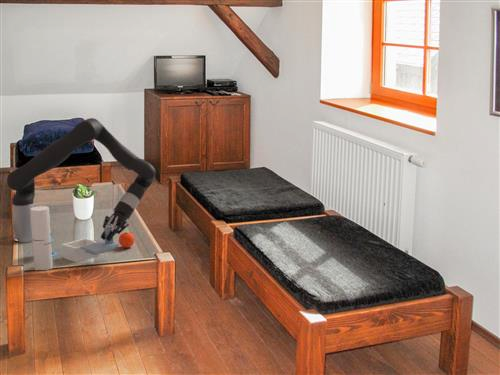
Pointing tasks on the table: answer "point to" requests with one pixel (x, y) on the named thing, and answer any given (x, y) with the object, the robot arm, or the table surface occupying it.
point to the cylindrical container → (41, 238)
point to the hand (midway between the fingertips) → (105, 239)
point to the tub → (77, 250)
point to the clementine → (126, 239)
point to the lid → (100, 245)
